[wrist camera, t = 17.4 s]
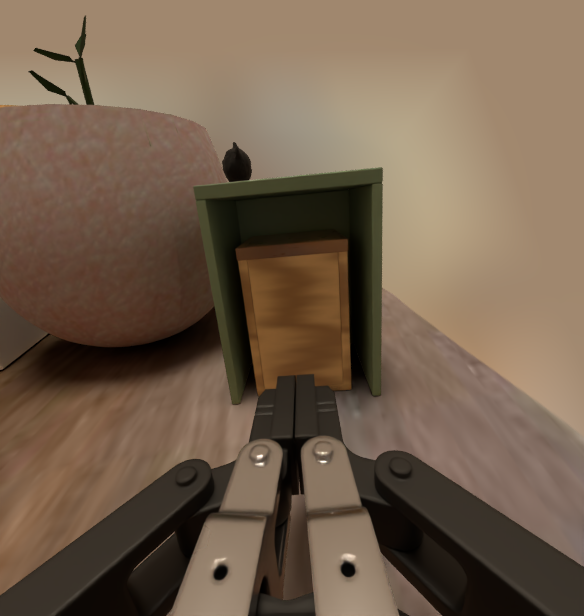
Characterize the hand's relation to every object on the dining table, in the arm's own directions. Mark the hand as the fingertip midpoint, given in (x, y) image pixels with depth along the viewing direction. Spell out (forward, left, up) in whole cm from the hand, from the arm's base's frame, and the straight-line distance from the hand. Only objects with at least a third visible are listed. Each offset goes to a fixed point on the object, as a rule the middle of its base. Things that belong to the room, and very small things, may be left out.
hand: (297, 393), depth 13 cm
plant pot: (+18, -22, -6) cm, 30 cm away
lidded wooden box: (0, -12, -6) cm, 14 cm away
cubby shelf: (0, -12, -6) cm, 13 cm away
